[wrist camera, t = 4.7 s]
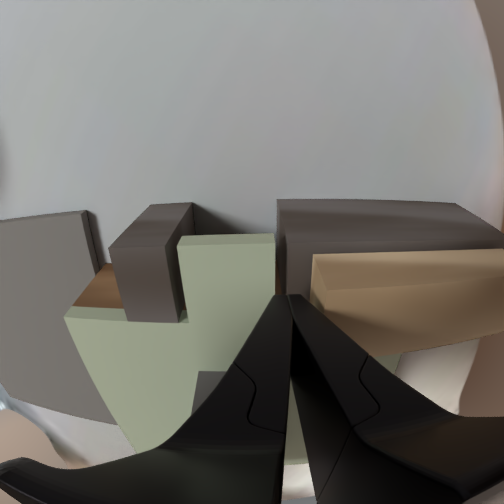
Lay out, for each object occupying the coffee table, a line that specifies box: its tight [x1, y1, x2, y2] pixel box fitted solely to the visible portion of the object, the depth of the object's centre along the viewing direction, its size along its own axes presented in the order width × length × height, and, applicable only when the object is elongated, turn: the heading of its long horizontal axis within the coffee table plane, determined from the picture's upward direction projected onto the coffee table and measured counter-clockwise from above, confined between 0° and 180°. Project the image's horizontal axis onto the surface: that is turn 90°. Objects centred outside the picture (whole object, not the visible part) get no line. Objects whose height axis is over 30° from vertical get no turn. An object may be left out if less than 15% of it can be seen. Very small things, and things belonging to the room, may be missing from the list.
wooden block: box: [310, 249, 504, 357], centre depth 9 cm, size 2×8×2 cm, turn 92°
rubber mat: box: [0, 210, 118, 425], centre depth 17 cm, size 18×17×1 cm
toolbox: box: [72, 199, 504, 323], centre depth 15 cm, size 15×18×5 cm
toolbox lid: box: [64, 233, 402, 465], centre depth 11 cm, size 15×14×4 cm
